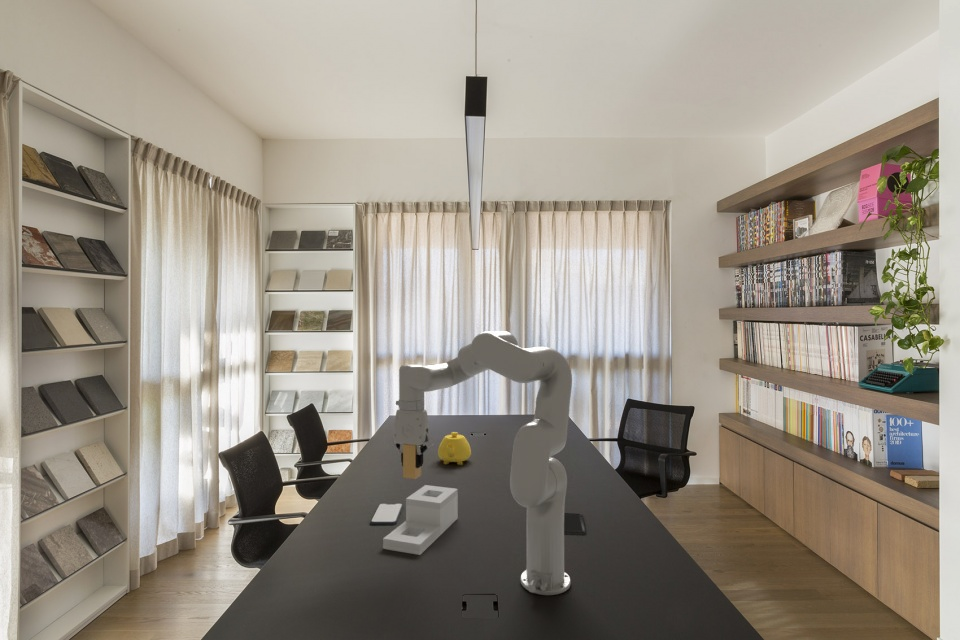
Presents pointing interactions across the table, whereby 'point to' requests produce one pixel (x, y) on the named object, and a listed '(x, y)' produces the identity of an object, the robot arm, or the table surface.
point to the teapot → (454, 449)
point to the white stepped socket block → (424, 519)
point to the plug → (410, 462)
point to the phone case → (387, 514)
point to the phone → (574, 524)
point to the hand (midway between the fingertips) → (412, 465)
